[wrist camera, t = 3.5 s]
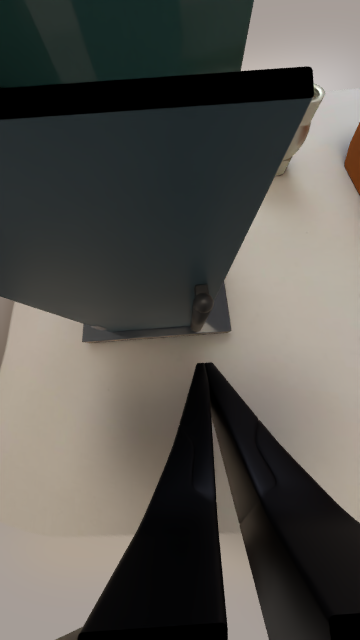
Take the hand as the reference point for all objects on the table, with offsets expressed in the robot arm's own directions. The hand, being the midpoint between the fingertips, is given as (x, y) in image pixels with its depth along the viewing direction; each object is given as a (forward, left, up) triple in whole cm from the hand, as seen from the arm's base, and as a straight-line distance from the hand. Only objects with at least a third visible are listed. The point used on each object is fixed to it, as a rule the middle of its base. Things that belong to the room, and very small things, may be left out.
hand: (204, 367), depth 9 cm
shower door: (+3, +4, -7) cm, 9 cm away
